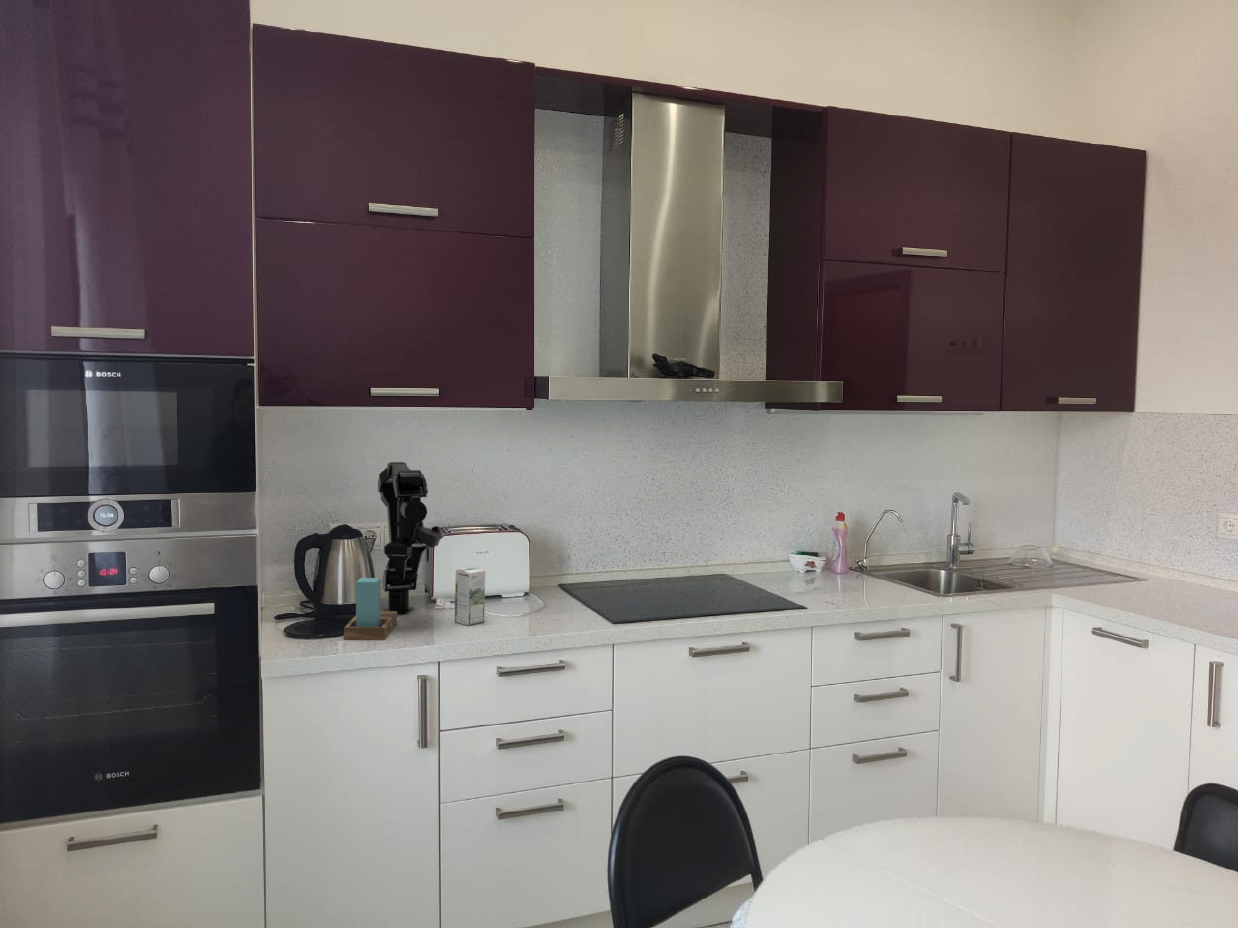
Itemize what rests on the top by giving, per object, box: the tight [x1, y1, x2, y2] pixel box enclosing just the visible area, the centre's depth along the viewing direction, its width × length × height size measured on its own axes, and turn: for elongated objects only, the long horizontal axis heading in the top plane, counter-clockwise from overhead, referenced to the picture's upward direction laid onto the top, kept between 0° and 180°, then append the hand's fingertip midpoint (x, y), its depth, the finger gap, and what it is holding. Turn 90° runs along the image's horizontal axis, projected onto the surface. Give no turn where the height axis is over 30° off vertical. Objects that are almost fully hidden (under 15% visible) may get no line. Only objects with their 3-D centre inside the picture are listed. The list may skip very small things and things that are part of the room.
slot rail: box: [343, 610, 398, 641], centre depth 239 cm, size 17×10×3 cm, turn 3°
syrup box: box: [454, 566, 486, 626], centre depth 249 cm, size 6×6×14 cm
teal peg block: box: [355, 577, 382, 627], centre depth 235 cm, size 5×5×14 cm
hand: (408, 576), depth 245 cm, fingers open, 9 cm apart
